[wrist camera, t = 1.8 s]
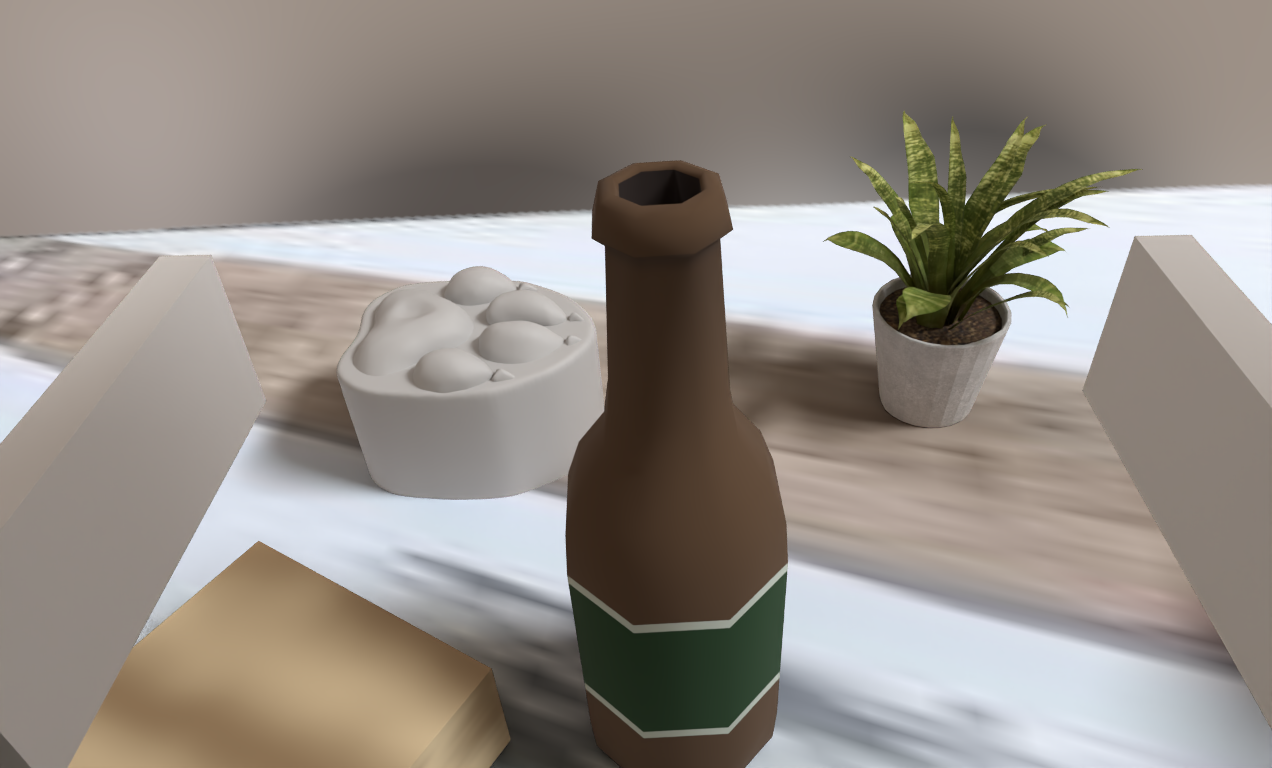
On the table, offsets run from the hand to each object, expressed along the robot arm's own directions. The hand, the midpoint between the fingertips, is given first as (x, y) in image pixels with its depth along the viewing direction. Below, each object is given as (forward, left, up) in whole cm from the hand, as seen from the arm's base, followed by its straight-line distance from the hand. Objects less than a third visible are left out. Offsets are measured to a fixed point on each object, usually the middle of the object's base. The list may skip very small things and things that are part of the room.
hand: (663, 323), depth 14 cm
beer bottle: (-8, -5, -27) cm, 28 cm away
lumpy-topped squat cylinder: (-18, -23, -27) cm, 40 cm away
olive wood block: (+3, -17, -27) cm, 32 cm away
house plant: (-31, -2, -27) cm, 41 cm away
